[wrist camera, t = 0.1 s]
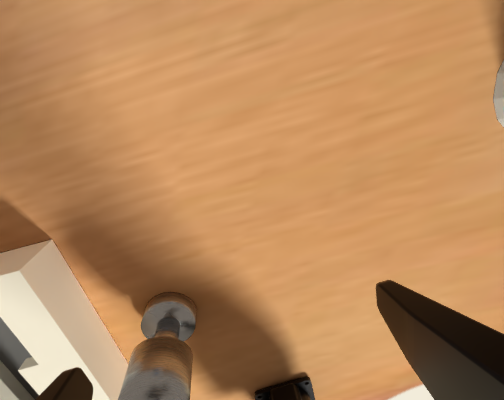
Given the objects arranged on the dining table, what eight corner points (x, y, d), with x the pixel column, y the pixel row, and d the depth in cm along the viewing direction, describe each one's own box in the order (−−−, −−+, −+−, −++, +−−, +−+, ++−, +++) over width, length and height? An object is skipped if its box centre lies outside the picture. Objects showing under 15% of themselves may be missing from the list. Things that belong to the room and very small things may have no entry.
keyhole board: (148, 396, 29) (138, 440, 26) (36, 428, 29) (10, 477, 25) (52, 239, 22) (19, 270, 18) (-103, 280, 21) (-169, 320, 18)
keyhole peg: (202, 323, 27) (197, 428, 18) (155, 336, 27) (130, 448, 18) (187, 286, 25) (174, 385, 17) (137, 300, 25) (99, 407, 16)
